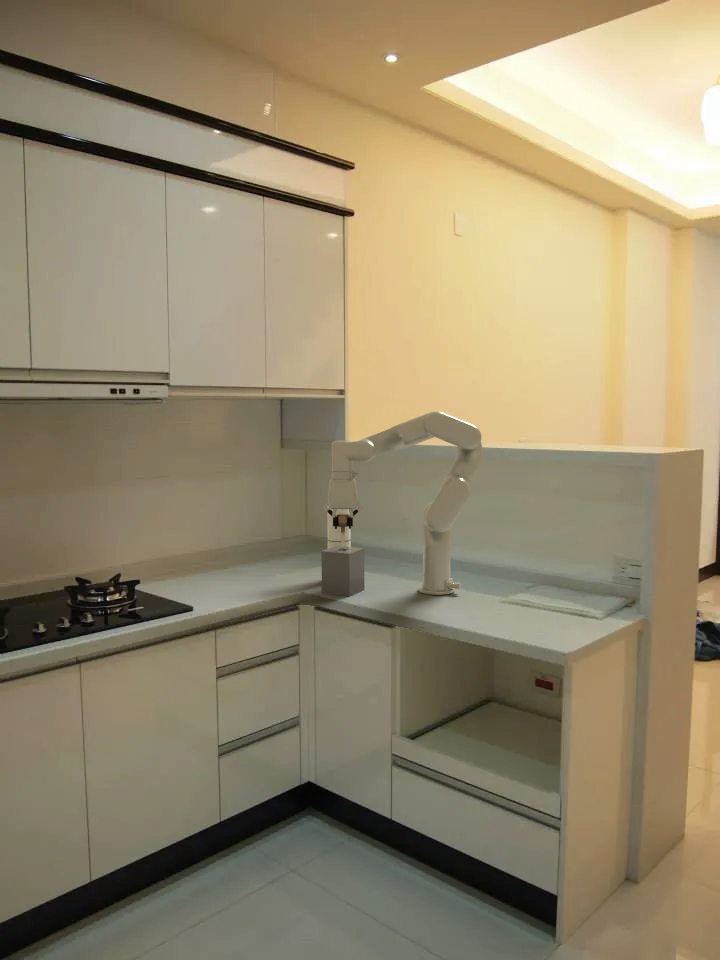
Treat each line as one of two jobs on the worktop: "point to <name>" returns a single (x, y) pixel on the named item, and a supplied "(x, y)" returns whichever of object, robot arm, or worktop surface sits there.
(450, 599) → the worktop surface
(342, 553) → the grey box
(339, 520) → the plunger
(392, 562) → the worktop surface
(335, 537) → the container
